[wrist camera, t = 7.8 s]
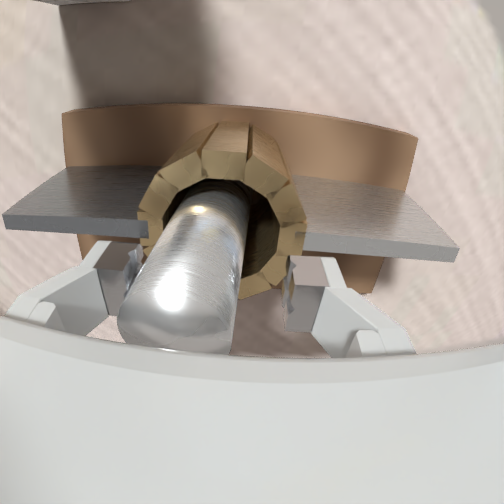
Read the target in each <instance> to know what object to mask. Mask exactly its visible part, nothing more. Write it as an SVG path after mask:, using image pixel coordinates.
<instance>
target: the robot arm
mask: <svg viewBox="0 0 504 504" xmlns="http://www.w3.org/2000/svg"><path fill="white" fill-rule="evenodd" d="M143 256H144V254H143V248H142V246H141V244H137V243H127V242H116V241H104V240H100V241H97V242H96V243H95V245H94V246H93V247H92V249H91V250H90V251H89V253H88V254H87V255H86V257H85V258H84V259H83V261H82V262H81V263H80V265H79V266H78V267H77V266H74V267H72V268H70V269H68V270H66V271H64V272H62V273H60V274H58V275H56V276H54V277H52V278H50V279H48V280H46V281H45V282H43V283H41V284H39V285H37V286H35V287H33V288H31V289H30V290H28V291H26V292H24V293H22V294H20V295H19V296H18V297H17V299H16V300H15V301H14V303H13V304H12V305H11V307H10V308H9V310H8V311H7V312H6V314H5V315H4V317H3V316H0V504H504V343H499V344H494V345H487V346H481V347H474V348H467V349H460V350H451V351H443V352H433V353H423V354H416V351H415V349H414V347H413V344H412V342H411V340H410V338H409V335H408V333H407V331H406V329H405V328H404V327H403V326H401V325H400V324H399V323H397V322H396V321H395V320H393V319H392V318H391V317H389V316H388V315H387V314H386V313H384V312H383V311H382V310H380V309H379V308H378V307H376V306H375V305H374V304H372V303H371V302H369V301H368V300H367V299H365V298H364V297H363V296H361V295H360V294H359V293H357V292H356V291H355V290H353V289H352V288H347V286H346V284H345V281H344V279H343V276H342V274H341V271H340V268H339V266H338V263H337V261H336V259H335V258H334V257H315V256H294V255H288V257H287V260H286V266H285V267H286V274H287V275H286V276H285V277H284V278H283V283H282V292H281V301H282V307H284V313H283V320H284V329H285V331H294V332H311V334H312V335H313V336H314V338H315V339H316V340H317V341H318V342H319V343H320V345H321V346H322V347H323V348H324V349H325V351H326V352H327V353H328V354H329V355H330V356H331V358H277V357H254V356H237V355H223V354H210V353H199V352H189V351H180V350H171V349H163V348H155V347H147V346H140V345H134V344H127V343H121V342H115V341H109V340H103V339H98V338H92V337H87V336H86V335H87V334H88V333H89V332H91V331H92V330H93V329H94V328H95V327H97V326H98V325H99V324H100V323H101V322H103V321H104V320H105V319H106V318H107V317H109V316H108V315H112V316H117V315H118V311H119V309H120V307H121V305H122V303H123V301H124V299H125V297H126V295H127V294H128V292H129V290H130V288H131V286H132V284H133V283H134V281H135V279H136V277H137V275H138V274H139V272H140V270H141V268H142V266H143V264H142V263H141V260H142V258H143Z"/></svg>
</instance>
